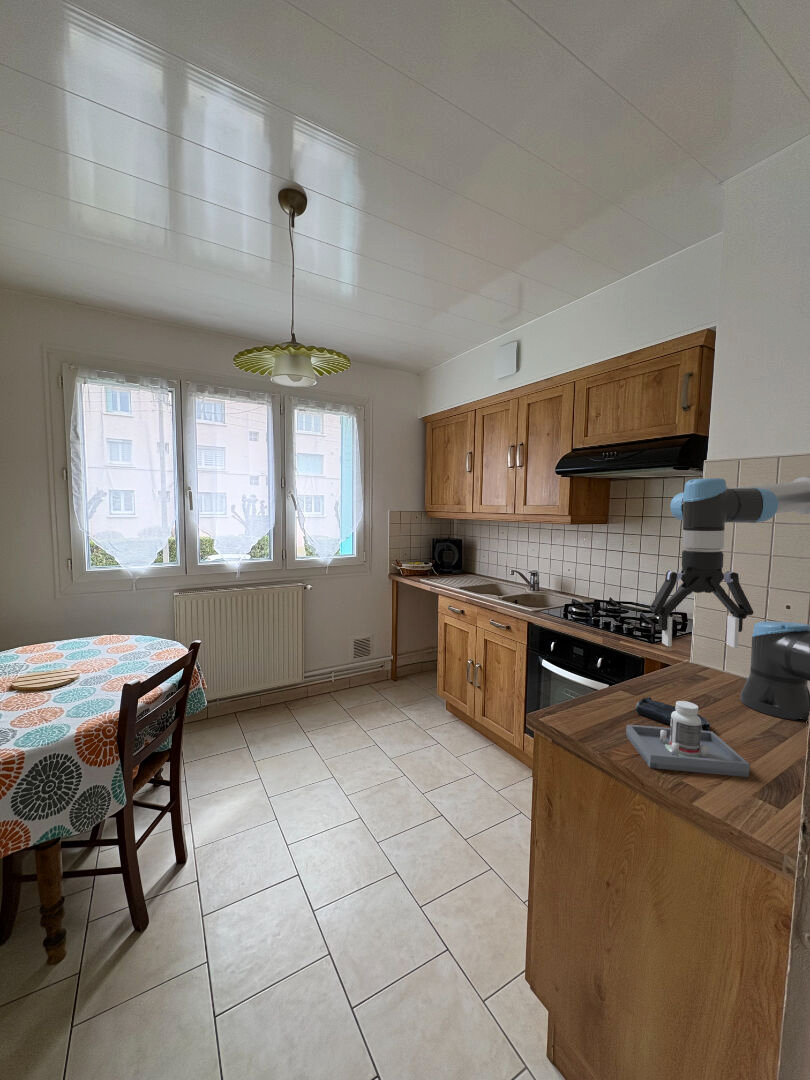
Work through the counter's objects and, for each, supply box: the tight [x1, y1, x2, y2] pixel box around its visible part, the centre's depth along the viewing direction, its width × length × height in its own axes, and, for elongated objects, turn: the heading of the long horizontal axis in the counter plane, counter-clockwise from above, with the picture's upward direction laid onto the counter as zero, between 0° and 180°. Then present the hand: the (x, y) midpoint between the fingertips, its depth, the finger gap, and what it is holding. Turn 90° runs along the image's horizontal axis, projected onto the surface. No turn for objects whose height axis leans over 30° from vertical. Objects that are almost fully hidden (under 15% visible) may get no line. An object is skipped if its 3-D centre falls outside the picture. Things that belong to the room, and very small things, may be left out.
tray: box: [625, 724, 751, 778], centre depth 92 cm, size 18×13×4 cm
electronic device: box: [634, 696, 711, 731], centre depth 108 cm, size 9×6×15 cm
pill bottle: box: [669, 700, 701, 756], centre depth 92 cm, size 5×5×10 cm
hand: (699, 645), depth 97 cm, fingers open, 13 cm apart
